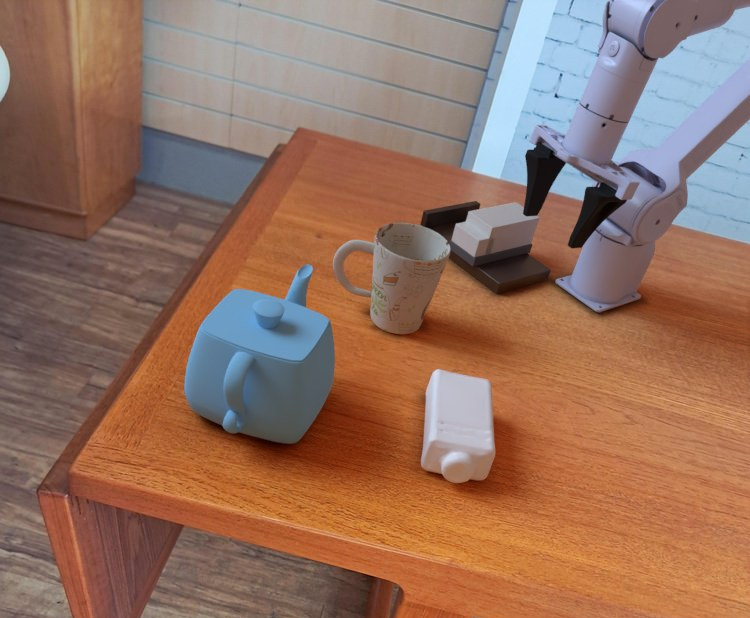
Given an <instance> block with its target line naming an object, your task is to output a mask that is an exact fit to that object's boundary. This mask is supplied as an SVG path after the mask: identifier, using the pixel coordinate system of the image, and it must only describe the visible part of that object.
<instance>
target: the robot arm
mask: <svg viewBox="0 0 750 618" xmlns="http://www.w3.org/2000/svg"><path fill="white" fill-rule="evenodd" d="M746 8H750V0H607V1H606V4H605V6H604V9H603V14H602V35H601V38H600V40H599V42H598V45H597V48H598V49H597V53H598V56H597V59H596V62H595V64H594V66H593V69H592V71H591V73H590V76H589V79H588V81H587V83H586V84H585V85H586V86H585V88H584V90H583V93H582V95H581V97H580V100H579V102H578V104H577V107H576V109H575V112H574V114H573V117H572V119H571V121H570V123H569V126H568V129H567V131H566V133H565V134H563V133H562V132H560V131H557V130H555V129H554V128H551V127H550V126H549V125H544V124H535V126H534V129H533V131H532V133H531V136H530V139H529V143H530V144H532V145H533V146H535V147H533V149H527V150H526V152H525V155H524V157H525V164H526V178H527V179H526V191H525V198H524V205H523V207H524V210H523V215H525V216H538V215H539V214H540V212H541V210H542V209H543V206H544V204H545V201H546V199H547V197H548V195H549V193H550V191H551V188H552V186H553V184H554V183H555V181H556V179H557V177H558V176H559V174H560V173H561V171H562V170H563V169H564V167H565V166H566V164H567V165H569V166H571V167H572V168H574V169H575V170H577V171H579V172H580V173H581V174H583V175H585V176H586V177H588V178H590V179H591V180H592V181H593V183H592V185H591V186H586V188H585V189H584V196H583V201H582V206H581V209H580V213H579V215H578V218H577V221H576V223H575V225H574V227H573V230H572V232H571V234H570V237H569V239H568V242H567V246H568V247H569V248H570V249H581V251H580V254H579V256H578V258H577V261H576V264H575V266H574V269H573V271H572V274H570V275H566V276H563V277H559V278H556V279H555V284H556V285H557V286H559V287H560V288H562V289H563V290H564V291H565V292H567V293H569V294H570V295H571V296H573V297H574V298H576V299H577V300H579V301H580V302H581V303H583V304H584V305H585V306H587V307H588V308H589V309H591V310H593V311H594V312H595V313H602V312H605V311H608V310H612V309H614V308H617V307H620V306H624V305H627V304H629V303H632V302H635V301H638V300H641V299H642V295H641V294H640V293H638V290H639V288H640V285H641V284H642V282H643V279H644V277H645V275H646V273H647V271H648V269H649V267H650V264H651V263H652V260H653V258H654V255H655V252H656V241H658V240H659V239H661V237H663V236H664V235H665V234H666V233H667V231H668V230H669V229H670V228H671V226H672V224H673V223H674V221H675V220H676V218H677V217H678V215H679V214H681V212H682V211H683V210H684V209H685V208H687V205H688V198H689V193H688V184H687V180H688V178H689V177H690V176H691V175H693V174H694V173H695V172H696V171H697V170H698V169H699V168H700V167H701V166H702V165H703V164H705V162H707V160H709V159H710V158H711V157H712V156H713V155H714V154H715V153H716V152H717V151H718V150H719V149H720V148H722V147H723V146H724V145H725V143H727V142H728V141H729V140H730V139H731V138H732V137H733V136H734V135H735V134H736V133H737V132H738V131H739V130H740V129H741V128H743V126H745V125H746V123H748V122H749V121H750V56H749V57H748V58H747V59H746V60H745V61H744V62H743V63H742V64H741V65H739V67H737V69H736V70H735V71H734V72H733V73H732V74H731V75H729V76H728V78H726V80H724V82H722V83H721V85H719V86H718V87H717V88H716V89H715V90H714V91H713V92H712V93H711V94H710V95H709V96H708V97H707V98H706V99H704V101H703V102H702V103H701V104H699V105H698V106H697V107H696V108H695V109H694V110H693V111H692V113H690V114H689V115H688V116H687V117H686V118H685V119H684V120H683V121H682V122H681V123H680V124H679V125H678V126H677V127H676V128H674V130H673V131H672V132H671V133H670V134H669V135H667V137H665V138H664V139H663V140H662V141H661V143H659V144H658V145H657V146H656V147H653V148H651V147H650V148H645V149H637V150H632V151H629V152H628V153H627V154H626V155H625V156H624V157H623V158H622V159H620V160H619V161H617V162H615V161H613V160H612V159H613V157H614V155H615V153H616V150H617V148H618V147H619V145H620V142H621V139H622V138H623V136H624V134H625V132H626V129H627V127H628V125H629V123H630V120H631V118H632V116H633V114H634V112H635V109H636V108H637V105H638V103H639V100H640V99H641V97H642V94H643V92H644V90H645V89H646V87H647V84H648V82H649V80H650V78H651V75H652V74H653V71H654V69H655V67H656V65H657V62H658V60H659V59H664V58H667V56H669V55H670V54H671V53H672V52H674V51H675V50H676V48H677V47H678V45H679V44H680V43H682V42H683V41H685V40H687V38H689V37H692V36H695V35H699V34H702V33H704V32H708V31H710V30H713V29H717V28H720V27H722V26H724V25H725V24H726V23H728V21H729V20H730V19H731V18H732V16H733V14H734V13H735V11H736V10H742V9H746Z"/></svg>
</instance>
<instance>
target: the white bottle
mask: <svg viewBox="0 0 750 618" xmlns="http://www.w3.org/2000/svg"><path fill="white" fill-rule="evenodd" d="M492 386H493V385H492V382H491V380H489V379H487V378H482V377H477V376H472V375H467V374H463V373H457V372H454V371H450V370H449V371H448V370H444V369H440V368H437V369H434V371H433V372H432V374H431V376H430V378H429V381H428V384H427V386H426V390H425V407H424V410H425V411H424V425H423V440H422V441H423V443H422V452H421V457H420V466H421V468H422V469H423V470H424V471H426V472H431V473H436V474H441V475H442V476H443V478H444V479H445V480H447V481H448V482H450V483H453V484H461V483H462V484H463V483H465V482H468V481H470V480H472V481H477V482H478V481H484V480H486V478H487V477H488V476H489V474H490V471H491V469H492V465H493V462H494V460H495V457H496V444H495V432H494V431H495V427H494V425H495V424H494V407H493V406H494V403H493V390H492V389H493V387H492Z"/></svg>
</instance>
